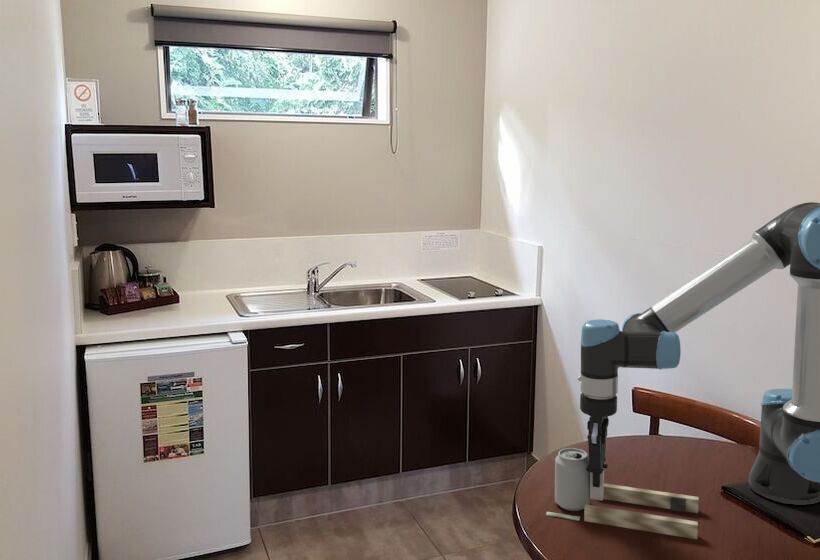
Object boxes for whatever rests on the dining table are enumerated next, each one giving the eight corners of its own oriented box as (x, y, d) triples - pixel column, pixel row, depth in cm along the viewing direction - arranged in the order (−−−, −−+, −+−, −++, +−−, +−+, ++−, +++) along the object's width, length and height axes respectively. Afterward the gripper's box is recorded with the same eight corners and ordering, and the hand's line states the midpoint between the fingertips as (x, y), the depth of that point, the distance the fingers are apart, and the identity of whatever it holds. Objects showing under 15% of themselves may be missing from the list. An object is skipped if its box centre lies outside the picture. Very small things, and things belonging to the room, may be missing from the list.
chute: (698, 509, 156) (698, 496, 155) (697, 540, 144) (697, 526, 143) (557, 488, 167) (557, 476, 166) (545, 515, 155) (545, 502, 154)
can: (590, 514, 155) (591, 461, 153) (554, 511, 157) (554, 458, 154) (589, 497, 162) (590, 447, 160) (555, 495, 164) (555, 444, 162)
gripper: (585, 382, 160) (583, 482, 164) (575, 402, 148) (573, 509, 152) (620, 385, 157) (618, 487, 161) (613, 405, 145) (610, 515, 150)
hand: (596, 498), depth 157 cm, fingers closed
